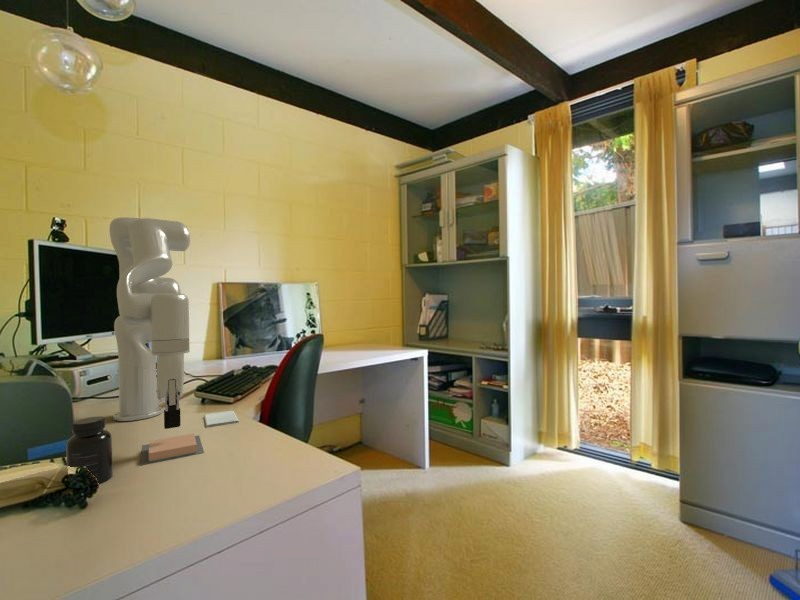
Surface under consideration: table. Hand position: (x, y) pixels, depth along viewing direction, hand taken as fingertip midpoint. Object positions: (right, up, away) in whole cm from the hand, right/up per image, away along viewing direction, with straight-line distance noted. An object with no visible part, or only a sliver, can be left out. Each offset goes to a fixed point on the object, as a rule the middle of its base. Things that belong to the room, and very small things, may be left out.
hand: (172, 426), depth 90 cm
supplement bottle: (-7, -6, -15) cm, 18 cm away
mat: (0, -6, 0) cm, 6 cm away
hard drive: (+1, -7, +23) cm, 24 cm away
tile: (-1, -4, +3) cm, 5 cm away
